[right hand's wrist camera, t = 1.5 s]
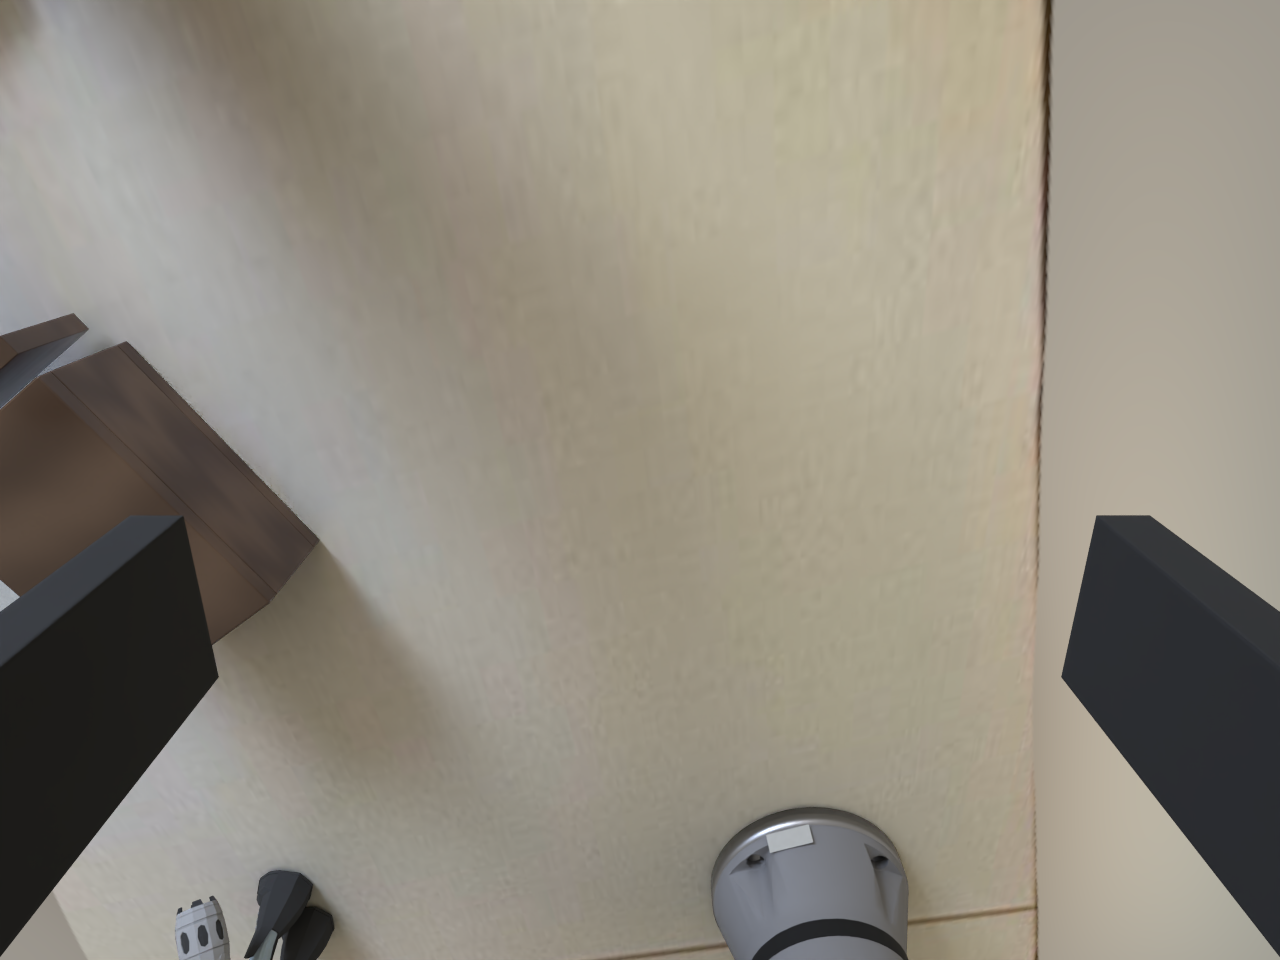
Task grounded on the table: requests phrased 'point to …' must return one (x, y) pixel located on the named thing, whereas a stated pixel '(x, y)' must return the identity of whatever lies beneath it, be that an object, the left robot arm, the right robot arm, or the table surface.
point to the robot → (259, 924)
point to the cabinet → (136, 484)
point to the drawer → (34, 351)
